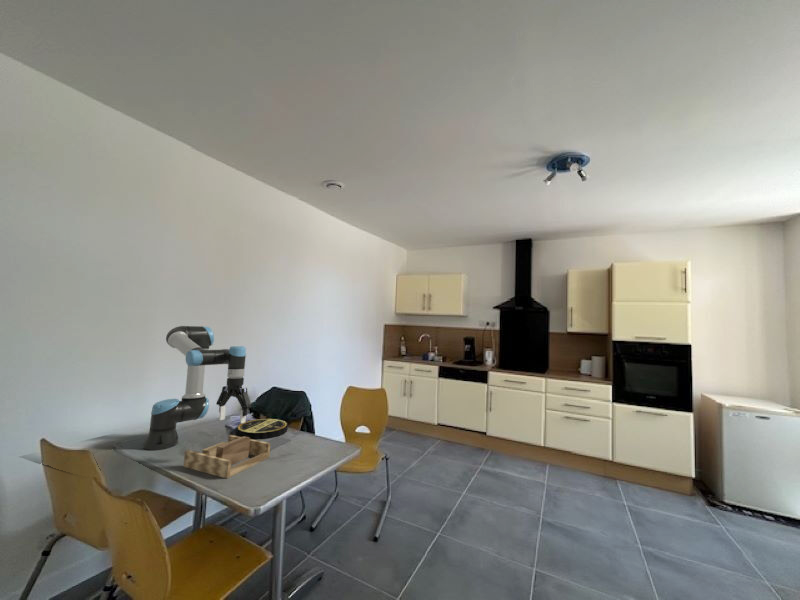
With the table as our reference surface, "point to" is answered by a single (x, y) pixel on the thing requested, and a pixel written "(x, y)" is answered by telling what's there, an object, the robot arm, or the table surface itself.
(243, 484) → the table surface
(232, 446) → the brown wooden block
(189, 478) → the table surface
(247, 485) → the table surface
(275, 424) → the sign
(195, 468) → the rack
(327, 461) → the table surface
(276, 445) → the mat
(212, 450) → the slab short
